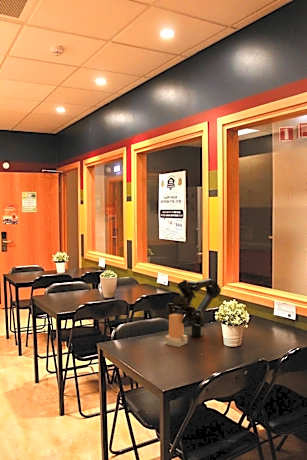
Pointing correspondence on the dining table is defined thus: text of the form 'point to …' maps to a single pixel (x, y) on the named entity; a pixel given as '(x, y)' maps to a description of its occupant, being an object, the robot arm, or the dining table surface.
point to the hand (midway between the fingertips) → (175, 321)
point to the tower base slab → (176, 343)
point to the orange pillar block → (176, 325)
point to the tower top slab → (176, 339)
